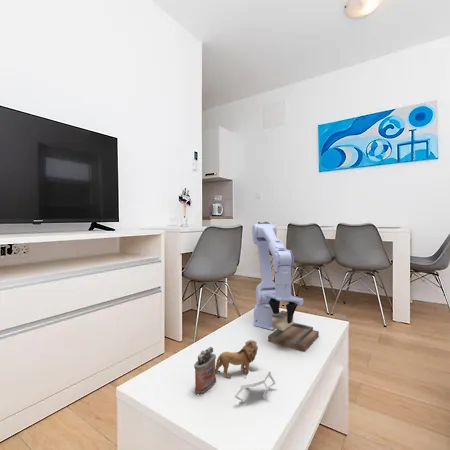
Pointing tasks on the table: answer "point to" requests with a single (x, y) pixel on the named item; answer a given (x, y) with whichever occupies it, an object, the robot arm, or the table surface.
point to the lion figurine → (238, 358)
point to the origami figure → (256, 381)
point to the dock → (295, 336)
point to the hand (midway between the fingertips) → (283, 321)
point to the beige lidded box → (280, 321)
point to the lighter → (205, 371)
